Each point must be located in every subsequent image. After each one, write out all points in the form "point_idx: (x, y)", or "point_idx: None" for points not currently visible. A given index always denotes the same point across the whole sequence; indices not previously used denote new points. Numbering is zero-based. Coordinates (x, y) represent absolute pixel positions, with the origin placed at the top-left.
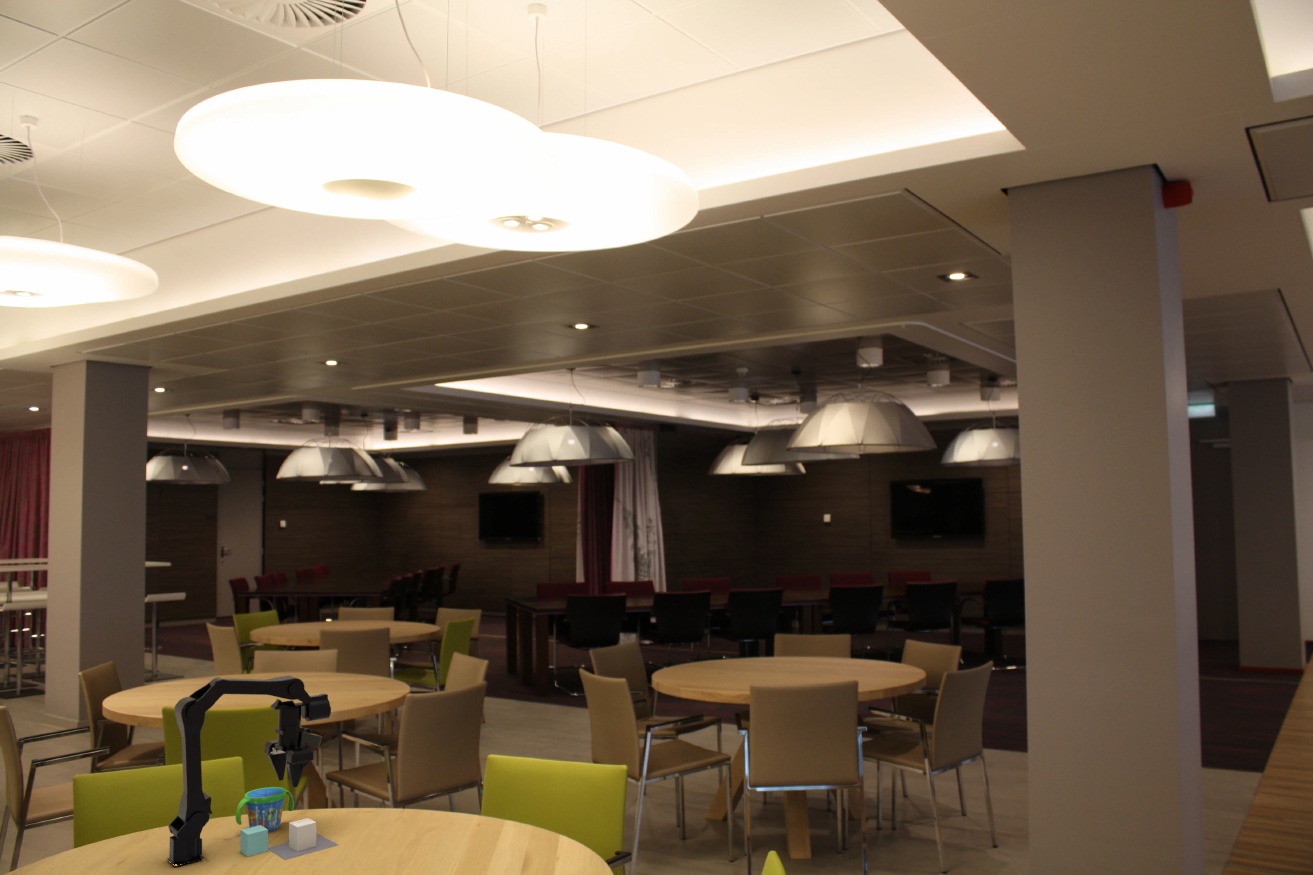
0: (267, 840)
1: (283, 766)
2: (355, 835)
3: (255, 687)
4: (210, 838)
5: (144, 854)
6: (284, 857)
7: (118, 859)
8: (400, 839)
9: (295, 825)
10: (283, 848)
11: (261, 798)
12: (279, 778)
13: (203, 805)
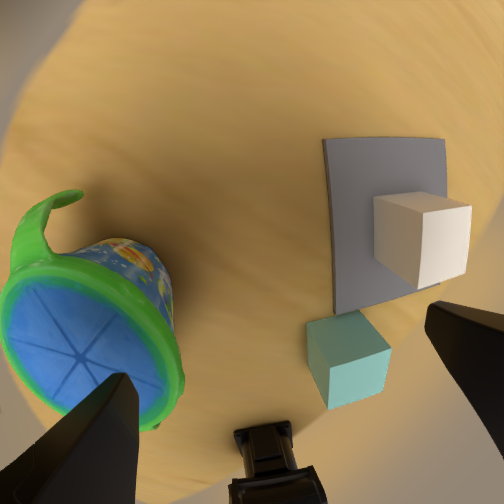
0: (375, 329)
1: (80, 472)
2: (384, 57)
3: None
4: None
5: (179, 467)
6: None
7: (184, 482)
8: (454, 24)
9: (452, 274)
10: (375, 273)
11: (176, 401)
12: (138, 409)
13: None
